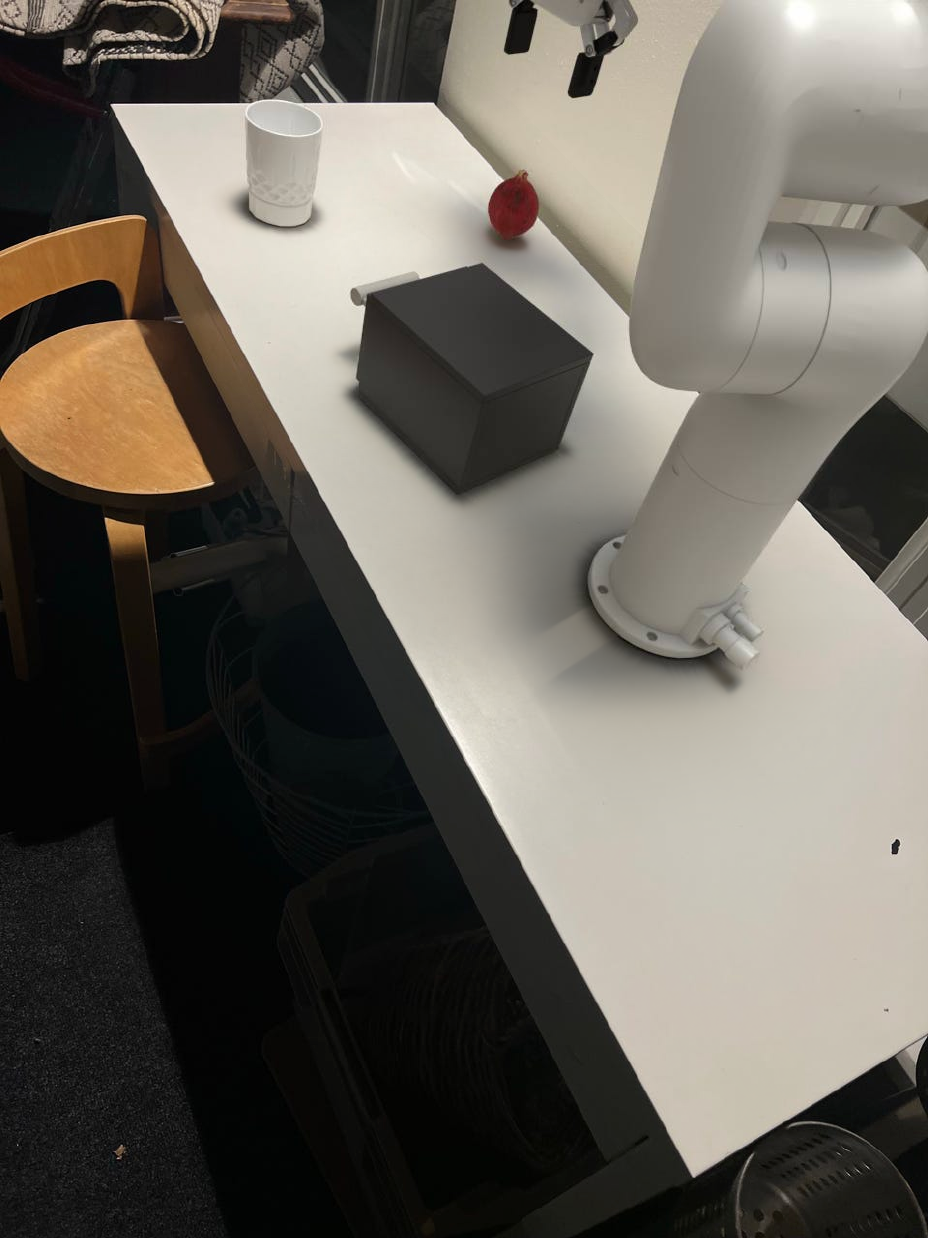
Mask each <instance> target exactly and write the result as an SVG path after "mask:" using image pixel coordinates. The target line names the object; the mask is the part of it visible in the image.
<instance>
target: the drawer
mask: <svg viewBox="0 0 928 1238" xmlns="http://www.w3.org/2000/svg"><path fill="white" fill-rule="evenodd" d="M465 267H468V266H467V265H465V266H463V267H458V268H455V269H452V270H448V271H443V272H441V273H436V274H433V275H430V276H426V277H423V278H421V277H420V275H419V274H418V272H416V271H411V272H405V273H403V274H399V275H396V276H392V277H388V278H385V279H380V280H377V281H374V282H370V283H366V284H362V285H358V286H356V287H352V288H351V289H350V292H349V295H350V300H351V302H352V303H353V305H354V306H355V307H359V306H364V314H363V322H362V329H361V336H360V342H359V343H360V344H359V351H358V359H357V366H356V374H355V379H356V380H357V381H358V382H359V378H360V371H361V363H362V356H363V349H364V342H365V334H366V327H367V320H368V313H369V305H370V299H371V294H372V293H375V292H379V291H382V290H386V289H389V288H393V287H397V286H400V285H404V284H408V283H411V282H415V281H418V280H422V279H426V278H429V277H433V276H436V275H440V274H444V273H447V272H451V271H454V270H458V269H462V268H465Z"/></svg>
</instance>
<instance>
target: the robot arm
mask: <svg viewBox="0 0 928 1238" xmlns="http://www.w3.org/2000/svg"><path fill="white" fill-rule="evenodd" d="M508 5H509V7H510V8H511V9H512V10H511V14H510V18H509V24H508V28H507V32H506V36H505V41H504V47H503V52H504V53H505V54H506V55H508V56H509V55H518V54H525V53H528V52H529V51H530V49H531V44H532V41H533V37H534V31H535V27H536V23H537V20H538V19H537V18H538V12H539V9H538V8H536V7H535V6H536V5H537V6H538V7H539V8H541V9H543V10H544V11H546V12H548V14H549V13H550V14H551V15H552V16H554V17H556V18H557V19H559V20H560V21H562V22H564V23H565V24H566V25H567V24H568V25H569V26H572V27H577V28H579V29H580V35H581V40H582V46H583V50H584V51H582V52H581V51H580V52H578V54H577V56H576V60H575V63H574V67H573V70H572V73H571V78H570V82H569V85H568V88H567V96H568V97H570V98H571V99H577V98H585V97H590V96H592V95H593V93H594V90H595V88H596V85H597V82H598V79H599V75H600V72H601V69H602V65H603V62H604V58H605V56H609V55H610V54H611V53H612V52H613V51H614V50H615V49H617V48H619V47H621V46H622V45H623V44H624V42H625V39H627V38H628V36H630V34H631V32H633V30H634V29H635V28H636V26H637V25H638V23H639V16H638V14H637V13H636V11H635V9H634V6H633V5H632V3H631V1H630V0H508ZM613 18H615V21H614V24H613V25H612V28H611V29H610V24H609V23H610V22H611V21H612V20H613ZM705 27H706V28H705V29H704V31H703V33H702V34H701V36H700V37H699V39H698V41H697V43H696V45H695V48H694V49H693V53H692V55H691V57H690V59H689V60H688V64H687V67H686V70H685V72H684V75H683V78H682V81H681V85H680V89H679V92H678V96H677V99H676V104H675V107H674V110H673V115H672V119H671V123H670V127H669V132H668V136H667V140H666V143H665V144H666V145H665V149H664V151H663V157H662V161H661V166H660V170H659V173H658V178H657V182H656V187H655V190H654V195H653V200H652V203H651V207H650V212H649V215H648V216H649V217H648V219H647V225H646V229H645V233H644V238H643V241H642V246H641V249H640V254H639V257H638V258H639V259H638V262H637V267H636V272H635V277H634V282H633V285H632V290H631V291H632V292H631V296H630V297H631V298H630V305H629V316H628V333H629V334H628V336H629V344H630V349H631V353H632V357H633V359H634V361H635V363H636V365H637V367H638V369H639V370H640V372H641V373H642V374H643V375H644V376H645V377H646V378H647V379H649V380H650V382H653V383H655V384H656V385H658V386H661V387H664V388H667V389H671V390H677V391H684V392H697V393H699V394H698V395H697V396H696V398H695V399H694V401H693V402H692V404H691V406H690V407H689V409H688V411H687V412H686V414H685V415H684V418H683V420H682V422H681V424H680V426H679V428H678V429H677V432H676V433H675V435H674V437H673V439H672V441H671V444H670V446H669V448H668V450H667V451H666V454H665V455H664V458H663V460H662V461H661V464H660V466H659V468H658V470H657V472H656V474H655V476H654V478H653V479H652V482H651V484H650V486H649V488H648V490H647V492H646V494H645V496H644V498H643V500H642V502H641V504H640V506H639V508H638V511H637V512H636V514H635V516H634V518H633V520H632V522H631V525H630V526H629V528H628V531H627V532H626V534H622V535H620V536H617V537H615V538H612V539H611V540H609V541H607V542H606V543H604V544H603V545H602V546H601V547H600V549H598V551H597V552H596V553H595V556H594V558H593V559H592V562H591V564H590V567H589V569H588V573H587V588H588V592H589V593H588V594H589V596H590V599H591V602H592V604H593V607H594V608H595V610H596V611H597V613H598V614H599V616H600V618H601V619H602V620H603V621H604V623H606V625H608V627H609V628H610V629H612V631H614V632H615V633H616V634H617V635H619V636H620V637H621V638H622V639H624V640H626V641H627V642H629V643H630V644H631V645H633V646H635V647H637V648H640V649H643V650H644V651H646V652H650V653H652V654H655V655H658V656H662V657H669V658H675V659H686V658H687V659H690V658H691V659H692V658H697V657H701V656H705V655H707V654H709V653H711V652H714V651H716V650H717V649H720V650H721V651H722V652H723V653H724V656H725V657H726V658H727V659H728V660H730V661H731V662H732V663H733V664H734V665H735V666H736V667H737V668H738V669H739V670H741V671H745V670H746V669H747V668H749V666H751V665H752V664H753V663H754V662H755V661H756V660H757V658H758V657H759V655H760V654H761V651H759V650H758V649H757V648H756V647H755V646H754V645H753V644H754V643H756V641H757V640H759V639H760V637H761V636H763V634H764V633H765V630H764V629H763V628H762V627H761V626H759V625H758V623H756V622H755V621H754V620H753V619H750V618H749V617H748V616H747V615H746V614H745V613H744V612H743V611H744V607H743V606H742V605H740V604H741V603H742V601H743V600H744V599H745V597H746V595H747V594H748V592H749V591H750V589H749V588H748V587H747V586H746V584H744V583H742V582H743V581H744V580H745V579H746V576H747V575H748V573H749V572H750V570H751V569H752V568H753V566H754V565H755V564H756V561H757V560H758V558H760V556H761V554H762V553H763V552H764V550H765V549H766V547H767V546H768V544H769V542H770V541H771V540H772V538H773V537H774V535H775V533H776V532H777V530H778V529H779V528H780V526H781V525H782V523H783V522H784V520H785V519H786V517H787V516H788V514H789V513H790V511H791V510H792V508H793V507H794V505H795V504H796V503H797V501H798V499H799V498H800V496H801V495H802V494H803V493H804V491H805V490H806V488H807V487H808V485H809V484H810V483H811V481H812V479H813V478H814V477H815V475H816V474H817V472H818V471H819V469H820V468H821V466H822V465H823V464H824V462H825V461H826V459H827V458H828V456H830V454H831V452H833V450H834V449H835V448H836V446H837V445H838V443H839V442H840V441H841V440H842V439H843V438H844V436H846V434H847V433H848V432H849V431H850V430H851V428H852V427H853V426H854V425H856V423H857V422H858V421H859V420H860V419H861V418H862V417H863V416H864V415H865V414H866V413H867V412H868V411H869V410H870V409H871V408H872V407H873V406H874V405H875V404H876V403H877V402H879V400H880V399H882V397H884V395H885V394H886V393H888V391H889V390H891V388H892V387H893V386H894V385H895V384H896V383H897V382H898V381H899V380H900V378H901V377H902V376H903V375H904V374H905V372H906V371H907V370H908V369H909V367H910V366H911V365H912V363H913V362H914V361H915V358H916V357H917V355H918V354H919V352H920V350H921V348H922V346H923V344H924V342H925V340H926V338H927V335H928V270H927V267H926V266H925V264H924V263H923V262H922V260H921V259H920V258H919V257H918V255H917V254H916V253H915V252H914V251H913V250H911V248H910V247H908V246H907V245H905V244H903V243H902V242H900V241H898V240H896V239H894V238H892V237H890V236H886V235H884V234H881V233H877V232H874V231H870V230H864V229H860V228H859V229H858V228H853V227H845V226H844V227H843V226H836V225H835V226H834V225H824V224H823V225H822V224H814V223H813V224H812V223H802V222H784V221H783V222H782V221H773V220H770V219H771V216H772V214H773V211H774V209H775V208H776V206H777V204H778V202H779V199H780V198H781V197H782V198H791V199H799V200H809V201H817V202H818V201H819V202H827V203H837V204H838V203H839V204H847V205H857V206H858V205H859V206H869V207H870V206H872V207H901V206H908V205H912V204H918V203H921V202H924V201H926V200H928V0H725V2H723V4H722V5H721V6H720V7H719V8H718V9H717V11H716V12H715V13H714V15H713V17H712V18H710V21H709V22H708V24H707V25H706V26H705ZM595 31H596V33H595ZM596 36H597V38H596ZM734 628H735V629H737V631H738V632H739V633H740V634H741V635H742V636H741V635H739V633H737V632H736V631H735V630H734Z"/></svg>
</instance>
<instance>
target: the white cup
mask: <svg viewBox="0 0 928 1238" xmlns="http://www.w3.org/2000/svg"><path fill="white" fill-rule="evenodd" d="M244 129H245V130H244V131H245V159H246V160H245V161H246V176H247V177H246V181H247V185H248V188H247V189H248V209H249V211H250V212H251V214H253V216H254V217H255V218H256V219H258V220H260V221H262V222H264V223H266V224H270V225H273V226H278V227H296V226H300V225H303V224H305V223H306V222H308V220H310V219H311V216H312V209H313V200H314V193H315V191H316V184H317V179H318V171H319V163H320V157H321V155H320V154H321V147H322V140H323V132H324V121H323V119H322V117H321V116H320V115H319V114H318V113H317V112H315V111H314V110H312V108H309V107H306V106H305V105H302V104H300V103H297V102H293V101H288V100H282V99H262V100H261V99H260V100H256V101H254V102H252V103H251V102H250V103H249V104H248V105H247V106H246V107H245V109H244Z"/></svg>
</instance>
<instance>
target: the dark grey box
mask: <svg viewBox="0 0 928 1238" xmlns="http://www.w3.org/2000/svg"><path fill="white" fill-rule="evenodd" d="M464 267H465V268H462V267H461V268H462V269H458V268H457V269H458V270H455V269H453V270H454V271H451V270H450V271H451V272H448V271H446V272H447V273H444V272H443V273H444V274H440V273H439V274H440V275H437V274H435V275H436V276H433V275H432V276H433V277H429V276H428V277H429V278H426V277H425V278H426V279H422V278H421V279H422V280H418V281H415V282H411V283H408V284H404V285H400V286H397V287H393V288H389V289H386V290H382V291H379V292H375V293H372V294H371V299H370V305H369V313H368V320H367V327H366V334H365V342H364V349H363V356H362V363H361V371H360V378H359V381H358V386H357V395H356V396H357V397H358V399H360V400H361V401H362V402H363V403H364V405H366V406H367V407H368V408H369V409H370V410H371V411H372V412H373V413H374V414H375V415H376V416H377V417H378V418H379V419H380V420H381V421H382V422H383V423H384V424H385V425H386V426H387V427H388V428H389V429H390V430H392V432H394V433H395V434H396V435H397V436H398V437H399V438H400V440H402V441H403V443H405V444H406V445H407V446H408V447H409V448H410V449H411V450H412V451H413V452H414V453H415V454H416V455H417V456H418V457H419V458H420V459H421V460H422V461H423V462H424V463H425V464H426V465H427V466H428V467H429V468H430V469H431V470H432V471H433V472H434V473H435V474H436V475H437V476H439V478H441V479H442V480H443V482H444V483H446V485H448V487H449V488H451V489H452V490H453V492H455V493H456V494H457V495H459V494H462V493H463V492H466V491H468V490H471V489H473V488H475V487H478V486H479V485H482V484H484V483H486V482H488V481H490V480H493V479H495V478H497V477H500V476H501V475H504V474H506V473H508V472H510V471H513V470H515V469H517V468H520V467H521V466H523V465H526V464H529V463H531V462H533V461H535V460H537V459H539V458H541V457H544V456H545V455H548V454H550V453H552V452H554V451H557V450H559V449H560V446H561V443H562V441H563V438H564V436H565V432H566V430H567V427H568V425H569V422H570V419H571V417H572V413H573V411H574V408H575V405H576V402H577V400H578V398H579V396H580V392H581V390H582V387H583V385H584V381H585V379H586V376H587V373H588V371H589V368H590V365H591V362H592V360H593V357H594V352H593V351H591V350H590V349H589V348H587V347H586V346H585V345H584V344H583V343H582V342H580V341H579V340H578V339H577V338H576V337H574V336H573V335H572V334H571V333H569V332H568V331H567V330H566V329H565V328H563V327H562V326H561V325H559V324H558V323H557V322H556V321H554V320H553V319H552V318H551V317H550V316H548V314H546V313H545V312H544V311H542V310H541V309H540V308H538V307H537V306H536V305H535V304H534V303H533V302H531V301H530V300H529V299H527V298H526V296H524V295H522V293H520V292H519V291H518V290H516V289H515V288H514V287H513V286H512V285H510V284H509V283H508V282H507V281H505V280H504V279H503V278H502V277H500V275H498V274H497V273H495V271H493V270H492V269H491V268H489V267H488V266H487V265H486V264H485V263H483V262H480V263H476V264H472V265H469V266H467V267H466V266H464Z"/></svg>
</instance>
